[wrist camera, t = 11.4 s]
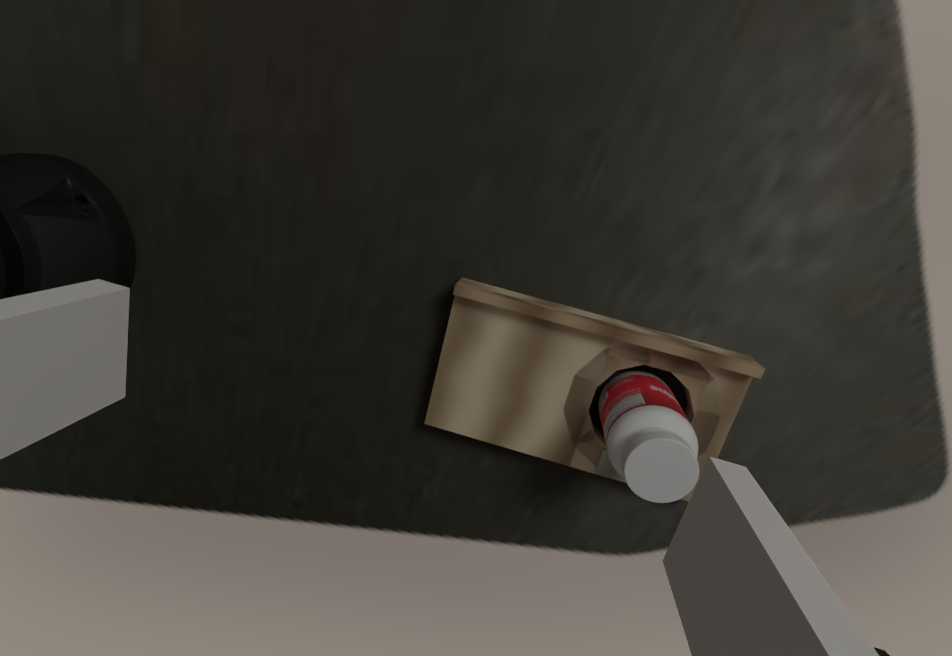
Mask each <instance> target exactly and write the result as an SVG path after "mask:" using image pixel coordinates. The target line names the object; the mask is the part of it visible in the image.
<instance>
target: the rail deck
mask: <svg viewBox="0 0 952 656" xmlns="http://www.w3.org/2000/svg"><path fill="white" fill-rule="evenodd" d="M453 295H455V296H454V301H453V305H452V309H451V313H450V318H449V322H448V326H447V330H446V334H445V339H444V343H443V347H442V351H441V356H440V360H439V364H438V368H437V372H436V377H435V381H434V385H433V389H432V394H431V398H430V402H429V406H428V411H427V415H426V419H425V423H424V424H427V425H430V426H434V427H437V428H440V429H444V430H447V431H451V432H454V433H457V434H461V435H464V436H468V437H471V438H474V439H478V440H481V441H485V442H488V443H491V444H495V445H498V446H502V447H505V448H508V449H512V450H515V451H519V452H522V453H526V454H529V455H532V456H536V457H539V458H543V459H546V460H549V461H553V462H556V463H560V464H563V465H566V466H570V467H573V468H577V469H580V470H583V471H587V472H590V473H594V474H597V475H600V476H604V477H607V478H611V479H614V480H617V481H621V482H624V483H626V480H625V479H624V478H623V477H622V476H621V475H620V474H619V473H618V472H617V471H616V470H615V468H614V467H613V465H612V463H611V461H610V459H609V456H608V453H607V448H606V442H605V438H604V434H603V433H602V432H601V431H600V430H599V429H598V428H597V427H596V426H595V425H594V424H593V423H592V419H591V415H590V411H589V408H590V405H591V402H592V399H593V396H594V393H595V390H596V387H598V386H599V385H600V384H601V383H602V382H604V381H605V380H606V379H607V378H608V377H610V376H611V375H612V374H613V373H614V372H615V371H617V370H621V369H626V368H631V367H635V366H640V365H647V366H651V367H654V368H658V369H662V370H665V371H669V372H671V373H672V374H673V375H674V376H675V377H676V378H677V379H678V380H679V381H680V382H681V383H682V384H683V385H684V388H685V393H686V398H687V403H688V405H687V408H686V410H685V415H686V417H687V419H688V420H689V422H690V424H691V425H692V427H693V429H694V431H695V434H696V437H697V441H698V456H697V461H698V464H699V477H698V481H699V479H700V477H701V474H702V472H703V470H704V468H705V465H706V463H707V461H708V459H709V457H713V458H716V459H717V457H718V455H719V453H720V451H721V448H722V446H723V444H724V442H725V439H726V437H727V435H728V433H729V430H730V428H731V426H732V423H733V421H734V419H735V417H736V414H737V412H738V410H739V408H740V405H741V403H742V401H743V399H744V396H745V394H746V392H747V390H748V387H749V385H750V383H751V381H752V378H753V377H756V378H760V379H761V378H762V375H763V373H764V371H765V368H763V367H762V366H761V365H760V364H759V363H757V362H756V361H755V360H754V359H753V358H752V357H750V356H749V355H746V354H742V353H738V352H735V351H731V350H727V349H724V348H720V347H716V346H713V345H709V344H705V343H701V342H698V341H694V340H690V339H687V338H683V337H679V336H676V335H672V334H668V333H665V332H661V331H657V330H654V329H650V328H646V327H642V326H639V325H635V324H631V323H628V322H624V321H620V320H617V319H613V318H609V317H606V316H602V315H598V314H594V313H591V312H587V311H583V310H580V309H576V308H572V307H569V306H565V305H561V304H558V303H554V302H550V301H547V300H543V299H539V298H535V297H532V296H528V295H524V294H521V293H517V292H513V291H510V290H506V289H502V288H499V287H495V286H491V285H488V284H484V283H480V282H476V281H473V280H469V279H465V278H461V279H460V280H459V281H458V282H457V283H456V284H455V288H454V292H453ZM698 481H697V483H698ZM697 483H696V485H697ZM696 485H695V487H694V488H693V489H692V490H691V492H690V493H688V494H687V495H686V496H684V497H683V498H681V499H682V500H686V501H690V499H691V497H692V494H693V492H694V490H695V488H696Z"/></svg>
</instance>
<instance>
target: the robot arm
mask: <svg viewBox="0 0 952 656" xmlns="http://www.w3.org/2000/svg"><path fill="white" fill-rule="evenodd" d="M134 269H135V249H134V242H133V237H132V233H131V230H130V227H129V224H128V221H127V219H126V217H125V215H124V212H123V211H122V209H121V207H120V205H119V204H118V202H117V200H116V199H115V198H114V196H113V195H112V193H111V192H110V191H109V190H108V188H107V187H106V186H105V185H104V184H103V183H102V182H101V181H100V180H99V179H98V178H97V177H95V176H94V175H93V174H92V173H91V172H89V171H88V170H86V169H85V168H83V167H82V166H80V165H78V164H76V163H74V162H72V161H70V160H68V159H65V158H62V157H58V156H54V155H45V154H29V153H14V154H6V155H2V156H0V459H2V458H4V457H6V456H8V455H10V454H12V453H14V452H16V451H18V450H20V449H22V448H24V447H26V446H28V445H30V444H32V443H34V442H36V441H38V440H40V439H42V438H44V437H46V436H48V435H50V434H52V433H54V432H56V431H58V430H60V429H62V428H64V427H66V426H68V425H70V424H72V423H74V422H76V421H78V420H80V419H82V418H84V417H86V416H88V415H90V414H92V413H94V412H96V411H98V410H100V409H102V408H104V407H106V406H108V405H110V404H112V403H114V402H116V401H118V400H120V399H122V398H124V397H125V388H126V365H127V341H128V318H129V295H130V285H131V282H132V279H133V275H134ZM663 563H664V566H665V569H666V573H667V576H668V579H669V583H670V586H671V589H672V592H673V595H674V599H675V602H676V605H677V608H678V611H679V615H680V618H681V621H682V625H683V628H684V631H685V634H686V638H687V641H688V644H689V647H690V650H691V654H692V656H889V654H887V653H886V652H885V651H884V650H881V649H878V648H874V647H873V646H872V645H871V643H870V642H869V641H868V639H867V638H866V636H865V635H864V634H863V632H862V631H861V630H860V628H859V626H858V625H857V624H856V622H855V621H854V619H853V618H852V617H851V615H850V614H849V612H848V611H847V609H846V608H845V607H844V605H843V604H842V603H841V601H840V600H839V598H838V597H837V595H836V594H835V592H834V591H833V590H832V588H831V587H830V585H829V584H828V583H827V581H826V580H825V578H824V577H823V575H822V574H821V573H820V571H819V570H818V568H817V567H816V566H815V564H814V563H813V561H812V560H811V559H810V557H809V556H808V554H807V553H806V552H805V550H804V549H803V547H802V546H801V544H800V543H799V542H798V540H797V539H796V537H795V536H794V535H793V533H792V532H791V530H790V529H789V527H788V526H787V525H786V523H785V522H784V520H783V519H782V517H781V516H780V515H779V513H778V512H777V510H776V509H775V508H774V506H773V505H772V503H771V502H770V500H769V499H768V498H767V496H766V495H765V493H764V492H763V491H762V489H761V488H760V486H759V485H758V483H757V482H756V481H755V479H754V478H753V476H752V475H751V474H750V472H749V471H748V469H747V468H746V467H744V466H740V465H737V464H734V463H730V462H727V461H723V460H720V459H716V458H713V457H709V459H708V461H707V463H706V465H705V468H704V470H703V472H702V474H701V477H700V479H699V481H698V483H697V485H696V488H695V490H694V492H693V494H692V497H691V499H690V501H689V503H688V505H687V508H686V510H685V512H684V514H683V517H682V519H681V521H680V523H679V526H678V528H677V530H676V532H675V534H674V537H673V539H672V541H671V543H670V546H669V548H668V550H667V552H666V555H665V557H664V559H663Z"/></svg>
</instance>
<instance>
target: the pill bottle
mask: <svg viewBox="0 0 952 656" xmlns="http://www.w3.org/2000/svg"><path fill="white" fill-rule="evenodd" d="M599 414H600V419H601V424H602V428H603V433H604V438H605V442H606V448H607V453H608V456H609V459H610V461H611V463H612V465H613V467H614V468H615V470H616V471H617V472H618V473H619V474H620V475H621V476H622V477H623V478H624V479H625V480H626V483H627V485H628V486H629V488H630V489H631V490H632V491H633V492H634V493H635V494H636V495H638V496H639V497H641V498H643V499H645V500H648V501H650V502H656V503H668V502H673V501H676V500H679V499H681V498H683V497H684V496H686V495H687V494H688V493H690V492H691V490H692V489H693V488H694V487H695V485H696V483H697V481H698V477H699V464H698V461H697V456H698V441H697V437H696V434H695V431H694V429H693V427H692V425H691V424H690V422H689V420H688V419H687V417H686V415H685V413H684V412H683V410H682V408H681V407H680V405H679V403H678V402H677V400H676V398H675V397H674V395H673V393H672V391H671V390H670V388H669V387H668V386H667V384H666V383H665V382H664V381H663V380H662V379H660V378H659V377H657V376H656V375H654V374H651V373H649V372H645V371H628V372H624V373H621V374H619V375H617V376H615V377H614V378H612V379H611V380H610V381H609V382H608V383H607V384H606V385H605V387H604V388H603V390H602V392H601V394H600V398H599Z"/></svg>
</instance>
